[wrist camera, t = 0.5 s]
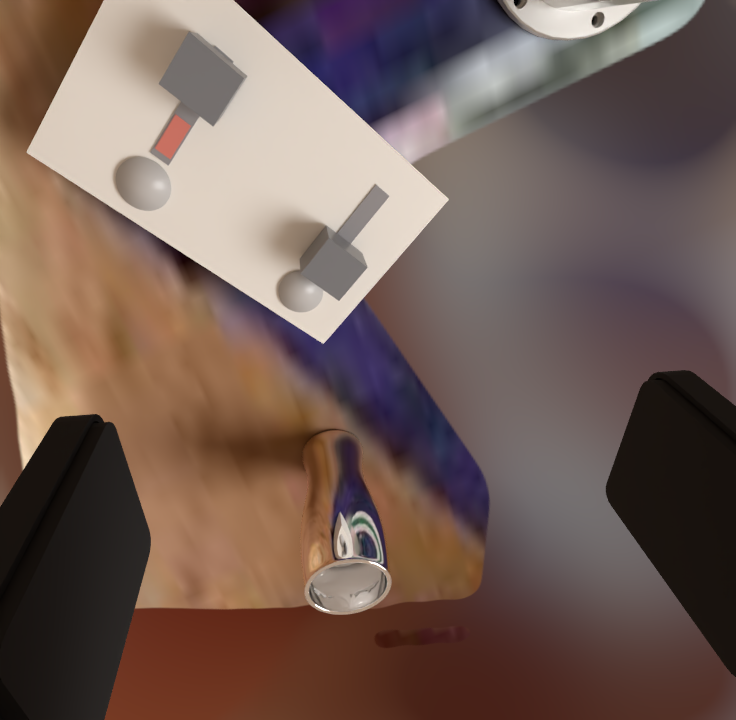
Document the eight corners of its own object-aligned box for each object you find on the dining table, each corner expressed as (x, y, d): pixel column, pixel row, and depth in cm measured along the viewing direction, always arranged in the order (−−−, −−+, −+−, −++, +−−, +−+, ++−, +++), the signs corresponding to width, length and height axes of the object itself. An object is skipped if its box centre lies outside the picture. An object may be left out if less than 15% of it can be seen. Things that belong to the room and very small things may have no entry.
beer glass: (288, 436, 48) (289, 573, 36) (358, 417, 48) (384, 548, 36) (308, 485, 52) (315, 625, 39) (373, 468, 52) (401, 603, 39)
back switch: (326, 224, 34) (329, 237, 32) (362, 252, 35) (367, 267, 33) (299, 258, 35) (300, 274, 32) (335, 284, 36) (339, 301, 34)
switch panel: (161, -66, 28) (144, -82, 25) (434, 186, 38) (449, 200, 34) (52, 142, 33) (24, 152, 29) (320, 320, 42) (323, 345, 39)
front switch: (197, 32, 27) (189, 31, 25) (247, 76, 29) (244, 78, 26) (168, 81, 28) (158, 83, 26) (218, 120, 30) (213, 126, 27)
